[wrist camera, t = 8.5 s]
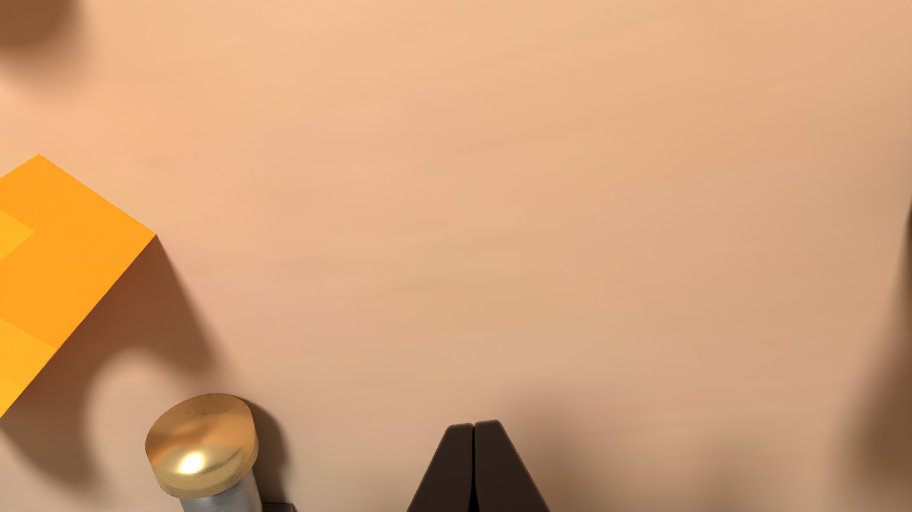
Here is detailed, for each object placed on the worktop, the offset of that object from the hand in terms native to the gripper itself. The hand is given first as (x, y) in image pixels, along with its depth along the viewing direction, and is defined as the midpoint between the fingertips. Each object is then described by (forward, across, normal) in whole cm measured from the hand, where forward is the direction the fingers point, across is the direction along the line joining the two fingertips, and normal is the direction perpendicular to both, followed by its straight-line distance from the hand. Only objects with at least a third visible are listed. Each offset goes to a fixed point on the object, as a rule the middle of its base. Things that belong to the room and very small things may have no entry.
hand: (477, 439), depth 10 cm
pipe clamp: (+12, +18, +3) cm, 22 cm away
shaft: (+12, +13, +14) cm, 22 cm away
